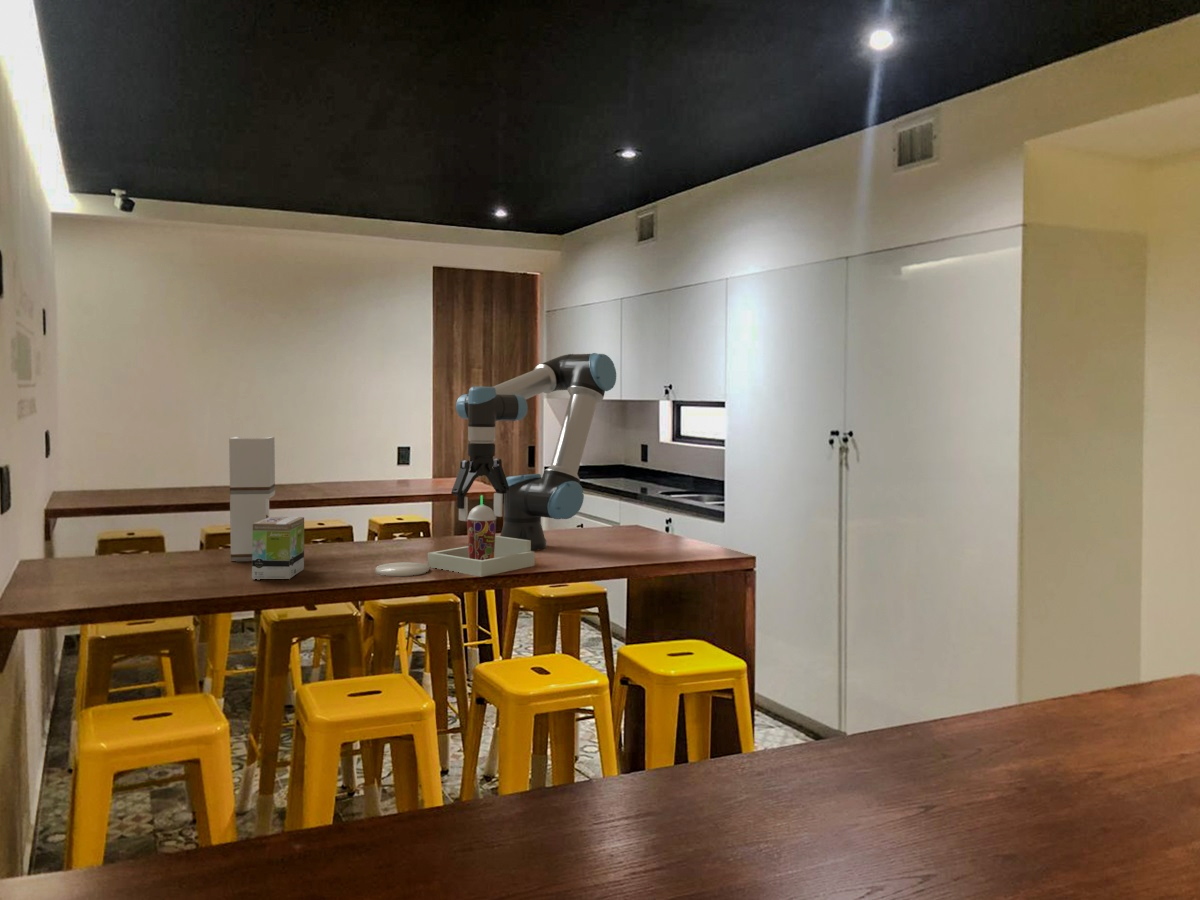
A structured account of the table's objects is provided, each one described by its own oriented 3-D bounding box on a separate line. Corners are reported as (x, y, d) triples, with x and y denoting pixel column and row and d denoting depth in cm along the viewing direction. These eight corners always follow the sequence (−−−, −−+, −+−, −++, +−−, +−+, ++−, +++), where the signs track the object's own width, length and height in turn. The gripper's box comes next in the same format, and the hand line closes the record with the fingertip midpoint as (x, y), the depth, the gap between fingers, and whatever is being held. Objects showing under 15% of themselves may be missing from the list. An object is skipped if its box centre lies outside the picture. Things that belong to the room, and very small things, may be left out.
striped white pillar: (270, 560, 265) (268, 438, 263) (230, 561, 263) (229, 438, 261) (275, 553, 276) (274, 436, 274) (237, 554, 274) (236, 436, 272)
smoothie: (491, 569, 254) (491, 497, 253) (462, 568, 256) (462, 496, 255) (500, 564, 262) (500, 494, 261) (472, 563, 264) (472, 493, 263)
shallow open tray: (481, 557, 274) (481, 533, 273) (534, 565, 261) (534, 541, 260) (427, 567, 257) (427, 542, 257) (481, 576, 244) (481, 550, 244)
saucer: (405, 564, 260) (405, 560, 260) (439, 570, 252) (439, 566, 252) (365, 571, 249) (365, 567, 249) (399, 578, 241) (399, 573, 241)
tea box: (291, 580, 237) (290, 523, 237) (251, 580, 237) (250, 523, 236) (305, 569, 252) (304, 515, 252) (267, 569, 252) (266, 515, 251)
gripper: (503, 440, 269) (502, 513, 270) (438, 442, 249) (438, 521, 250) (522, 441, 265) (521, 515, 266) (458, 443, 245) (457, 523, 246)
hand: (480, 518), depth 258 cm, fingers open, 13 cm apart
